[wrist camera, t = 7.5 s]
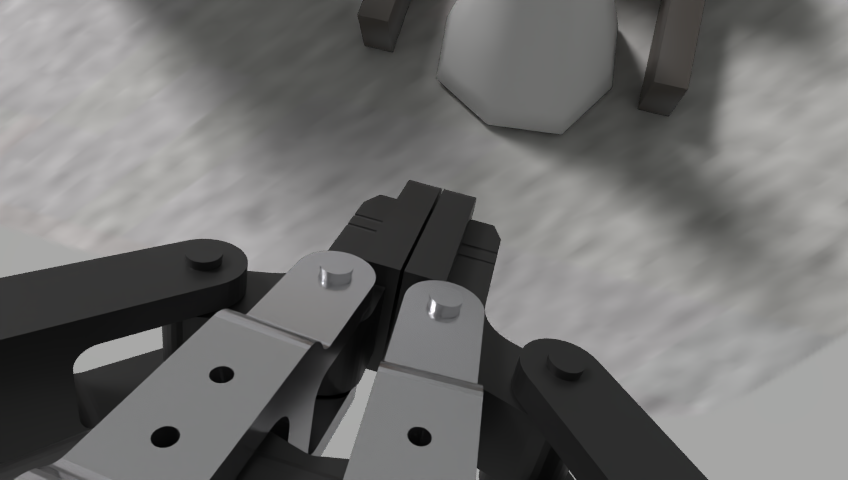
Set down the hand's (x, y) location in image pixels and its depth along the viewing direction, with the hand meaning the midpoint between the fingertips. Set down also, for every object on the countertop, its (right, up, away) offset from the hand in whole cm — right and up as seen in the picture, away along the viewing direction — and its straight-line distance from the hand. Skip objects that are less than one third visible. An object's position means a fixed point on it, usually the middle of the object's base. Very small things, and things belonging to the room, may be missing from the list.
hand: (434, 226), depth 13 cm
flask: (+4, +7, +12) cm, 14 cm away
